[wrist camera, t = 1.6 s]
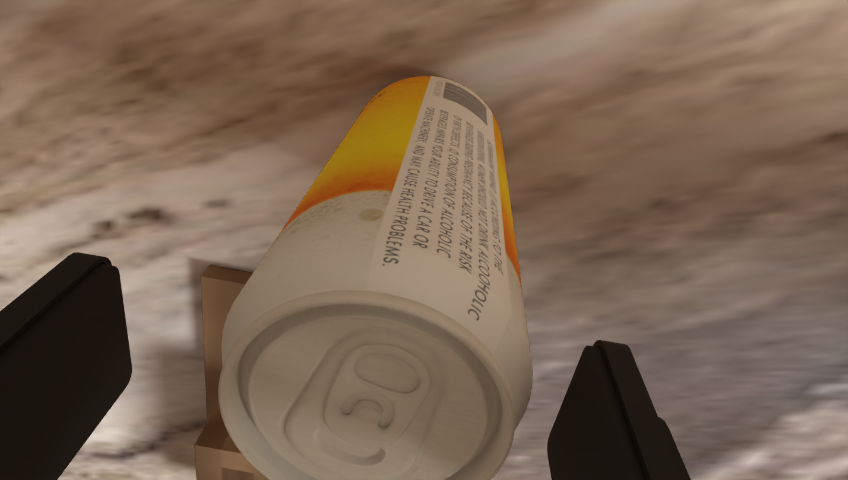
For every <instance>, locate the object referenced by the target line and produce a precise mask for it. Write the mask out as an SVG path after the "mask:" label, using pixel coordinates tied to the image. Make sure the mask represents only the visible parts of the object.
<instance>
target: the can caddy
mask: <svg viewBox="0 0 848 480" xmlns="http://www.w3.org/2000/svg"><path fill="white" fill-rule="evenodd" d="M252 274H253V273H249V272H244V271H238V270H233V269H227V268H222V267H216V266H211V265H210V266H209V267H208V268H207V269H206V271H205V272H204V273H203V274H202V275H201V291H202V313H203V335H204V357H205V380H206V402H207V424H206V426H205V427H204V429H203V431H202V433H201V434H200V436H199V438H198V440H197V442H196V443H195V460H196V476H197V480H269V479H268V478H267V477H266V476H264V475H263V474H262V473H261V472H259V471H258V470H257V469H256V468H255V467H254V466H253V465H252V464H251V463H250V462H249V461H248V460H247V459H246V458H245V457H244V455H243V454H242V453H241V452H240V451H239V449H238V448H237V446H236V445H235V443H234V442H233V440H232V439H231V437H230V435H229V433H228V431H227V429H226V427H225V424H224V422H223V419H222V416H221V412H220V406H219V398H218V387H219V379H220V374H221V371H222V367H223V365H222V335H223V328H224V325H225V321H226V318H227V315H228V313H229V311H230V309H231V306H232V304H233V302H234V301H235V299H236V298H237V296H238V295H239V293H240V292H241V290H242V289H243V287H244V286H245V284H246V283H247V281H248V280H249V278H250V277H251V275H252Z"/></svg>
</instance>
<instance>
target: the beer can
mask: <svg viewBox="0 0 848 480" xmlns="http://www.w3.org/2000/svg"><path fill="white" fill-rule="evenodd" d="M222 365H223V367H222V371H221V374H220V379H219V387H218V398H219V406H220V412H221V416H222V419H223V422H224V424H225V427H226V429H227V431H228V433H229V435H230V437H231V439H232V440H233V442H234V443H235V445H236V446H237V448H238V449H239V451H240V452H241V453H242V454H243V455H244V457H245V458H246V459H247V460H248V461H249V462H250V463H251V464H252V465H253V466H254V467H255V468H256V469H257V470H258V471H259V472H261V473H262V474H263V475H264V476H266V477H267V478H268V479H269V480H490V479H491V478H492V477H493V476H494V475H495V474H496V473H497V471H498V470H499V469H500V467H501V466H502V464H503V463H504V461H505V459H506V457H507V455H508V453H509V450H510V447H511V444H512V441H513V436H514V431H515V429H516V428H517V426H518V424H519V422H520V420H521V418H522V417H523V415H524V413H525V410H526V408H527V405H528V402H529V399H530V394H531V389H532V376H533V370H532V362H531V354H530V346H529V339H528V331H527V324H526V316H525V309H524V301H523V294H522V286H521V279H520V271H519V264H518V256H517V249H516V241H515V234H514V226H513V218H512V211H511V203H510V196H509V188H508V181H507V173H506V166H505V158H504V151H503V143H502V136H501V132H500V129H499V126H498V123H497V121H496V119H495V117H494V115H493V113H492V112H491V110H490V109H489V107H488V106H487V105H486V104H485V102H484V101H483V100H482V99H481V98H480V97H479V96H478V95H476V94H475V93H474V92H473V91H471V90H470V89H468V88H467V87H465V86H463V85H461V84H459V83H457V82H455V81H452V80H449V79H445V78H441V77H434V76H417V77H411V78H406V79H403V80H400V81H397V82H395V83H393V84H391V85H389V86H387V87H385V88H384V89H382V90H381V91H380V92H378V93H377V94H376V95H375V96H374V97H373V98H372V99H371V100H370V101H369V102H368V103H367V105H366V106H365V108H364V109H363V111H362V112H361V114H360V115H359V117H358V118H357V120H356V121H355V123H354V124H353V125H352V127H351V128H350V130H349V131H348V133H347V134H346V136H345V137H344V139H343V140H342V142H341V143H340V145H339V146H338V148H337V149H336V151H335V152H334V154H333V155H332V157H331V158H330V160H329V161H328V163H327V164H326V166H325V167H324V169H323V170H322V172H321V173H320V174H319V176H318V177H317V179H316V180H315V182H314V183H313V185H312V186H311V188H310V189H309V191H308V192H307V194H306V195H305V197H304V198H303V200H302V201H301V203H300V204H299V206H298V207H297V209H296V210H295V212H294V213H293V215H292V216H291V218H290V219H289V221H288V222H287V223H286V225H285V226H284V228H283V229H282V231H281V232H280V234H279V235H278V237H277V238H276V240H275V241H274V243H273V244H272V246H271V247H270V249H269V250H268V252H267V253H266V255H265V256H264V258H263V259H262V261H261V262H260V264H259V265H258V267H257V268H256V270H255V271H254V272H253V274H252V275H251V277H250V278H249V280H248V281H247V283H246V284H245V286H244V287H243V289H242V290H241V292H240V293H239V295H238V296H237V298H236V299H235V301H234V302H233V304H232V306H231V309H230V311H229V313H228V315H227V318H226V321H225V325H224V328H223V335H222Z"/></svg>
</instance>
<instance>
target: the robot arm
mask: <svg viewBox="0 0 848 480" xmlns="http://www.w3.org/2000/svg"><path fill="white" fill-rule="evenodd" d="M131 374H132V364H131V356H130V349H129V341H128V334H127V326H126V319H125V312H124V304H123V297H122V289H121V282H120V274H119V270H118V268H117V267H115V266H112V264H111V261H110V260H109V259H108V258H106V257H102V256H96V255H90V254H84V253H78V252H77V253H73V254H71V255H69V256H68V257H67V258H65V259H64V260H63V261H62V262H60V263H59V264H58V265H57V266H56V267H54V268H53V269H52V270H51V271H49V272H48V273H47V274H46V275H44V276H43V277H42V278H41V279H40V280H38V281H37V282H36V283H35V284H33V285H32V286H31V287H30V288H28V289H27V290H26V291H25V292H23V293H22V294H21V295H20V296H19V297H17V298H16V299H15V300H14V301H12V302H11V303H10V304H9V305H7V306H6V307H5V308H4V309H3V310H1V311H0V480H57V479H58V478H59V477H60V475H61V474H62V473H63V471H64V470H65V469H66V467H67V466H68V465H69V463H70V462H71V461H72V459H73V458H74V456H75V455H76V454H77V452H78V451H79V450H80V448H81V447H82V446H83V444H84V443H85V442H86V440H87V439H88V438H89V436H90V435H91V434H92V432H93V431H94V430H95V428H96V427H97V426H98V424H99V423H100V422H101V420H102V419H103V418H104V416H105V415H106V414H107V412H108V411H109V409H110V408H111V407H112V405H113V404H114V403H115V401H116V400H117V399H118V397H119V396H120V395H121V393H122V392H123V391H124V389H125V388H126V386H127V385H128V383H129V381H130V378H131ZM547 453H548V460H549V466H550V472H551V478H552V480H691V479H690V477H689V475H688V472H687V470H686V468H685V465H684V463H683V460H682V458H681V456H680V453H679V451H678V449H677V446H676V444H675V442H674V439H673V437H672V435H671V432H670V430H669V428H668V426H667V424H666V423H665V421H664V420H662V419H661V418H660V417H658V416H657V413H656V411H655V408H654V406H653V404H652V401H651V399H650V396H649V394H648V391H647V389H646V387H645V384H644V382H643V379H642V377H641V375H640V372H639V370H638V367H637V365H636V362H635V360H634V358H633V355H632V353H631V350H630V348H629V347H628V346H627V345H626V344H620V343H614V342H608V341H602V340H598V341H596V342H595V343H594V345H593V346H586V347H585V348H584V350H583V353H582V355H581V358H580V360H579V363H578V365H577V368H576V370H575V373H574V375H573V378H572V380H571V383H570V385H569V388H568V390H567V393H566V395H565V398H564V400H563V403H562V405H561V408H560V410H559V413H558V415H557V418H556V420H555V423H554V425H553V428H552V430H551V433H550V435H549V439H548V446H547Z"/></svg>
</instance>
